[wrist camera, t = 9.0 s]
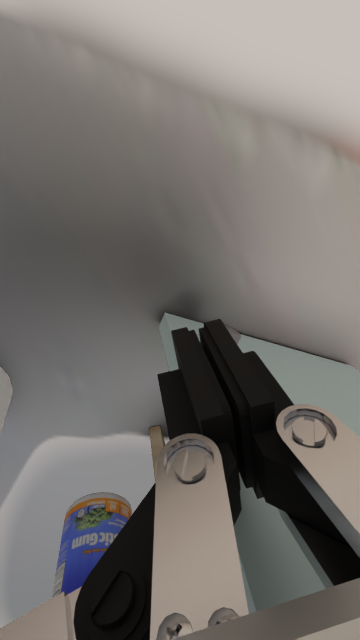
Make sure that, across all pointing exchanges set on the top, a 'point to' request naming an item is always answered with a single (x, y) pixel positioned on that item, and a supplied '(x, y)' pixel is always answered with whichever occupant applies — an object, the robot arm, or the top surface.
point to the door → (256, 515)
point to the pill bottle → (88, 537)
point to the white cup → (4, 395)
